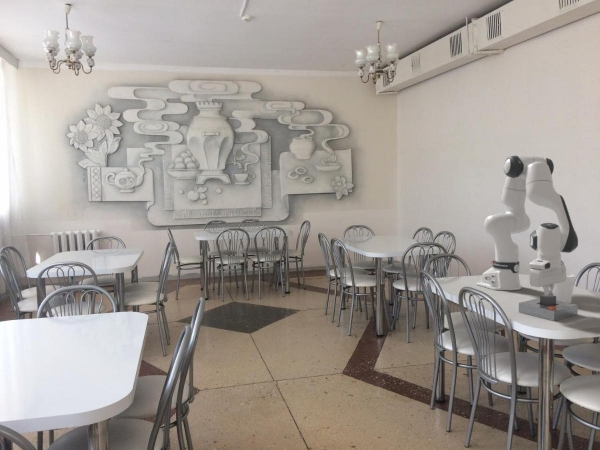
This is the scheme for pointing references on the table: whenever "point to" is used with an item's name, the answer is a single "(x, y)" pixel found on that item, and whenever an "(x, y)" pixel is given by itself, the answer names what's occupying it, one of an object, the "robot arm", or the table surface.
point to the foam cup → (564, 289)
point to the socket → (548, 309)
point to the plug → (548, 300)
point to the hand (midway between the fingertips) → (548, 294)
